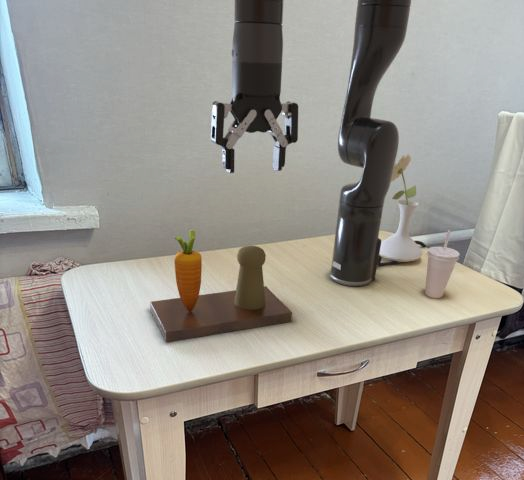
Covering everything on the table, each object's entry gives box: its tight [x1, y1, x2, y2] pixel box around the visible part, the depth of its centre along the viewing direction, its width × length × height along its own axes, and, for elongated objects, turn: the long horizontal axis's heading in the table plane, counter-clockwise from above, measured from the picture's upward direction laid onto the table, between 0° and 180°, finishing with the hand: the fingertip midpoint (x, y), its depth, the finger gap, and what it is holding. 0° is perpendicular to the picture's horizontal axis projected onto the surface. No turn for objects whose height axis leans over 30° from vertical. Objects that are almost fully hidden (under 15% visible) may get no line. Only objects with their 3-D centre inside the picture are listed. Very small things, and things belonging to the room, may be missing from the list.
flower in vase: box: [379, 153, 423, 263], centre depth 121 cm, size 13×11×25 cm
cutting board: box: [149, 285, 293, 343], centre depth 95 cm, size 24×12×2 cm, turn 113°
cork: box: [234, 245, 266, 310], centre depth 94 cm, size 6×6×11 cm
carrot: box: [174, 229, 203, 312], centre depth 89 cm, size 5×5×15 cm
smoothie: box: [424, 229, 461, 299], centre depth 105 cm, size 6×6×14 cm
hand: (254, 171), depth 84 cm, fingers open, 8 cm apart
